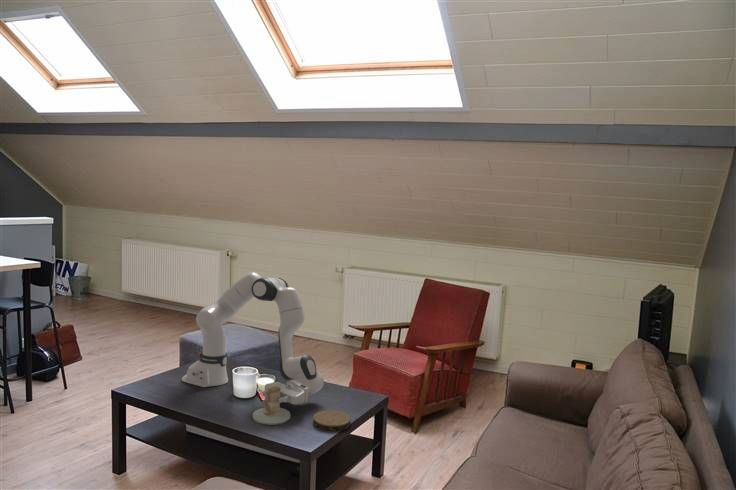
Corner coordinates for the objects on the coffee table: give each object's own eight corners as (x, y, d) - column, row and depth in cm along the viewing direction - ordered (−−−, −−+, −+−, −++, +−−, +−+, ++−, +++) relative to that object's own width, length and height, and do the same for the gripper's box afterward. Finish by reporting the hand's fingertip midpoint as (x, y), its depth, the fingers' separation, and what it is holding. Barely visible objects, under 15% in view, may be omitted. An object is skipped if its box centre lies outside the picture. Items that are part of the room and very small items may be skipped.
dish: (246, 421, 250) (246, 418, 250) (262, 407, 266) (262, 404, 266) (281, 427, 246) (281, 424, 246) (295, 413, 262) (296, 410, 262)
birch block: (263, 414, 256) (265, 387, 254) (272, 411, 259) (273, 384, 258) (271, 417, 253) (272, 390, 251) (279, 414, 256) (280, 387, 255)
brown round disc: (345, 434, 244) (346, 427, 244) (308, 429, 247) (308, 422, 246) (353, 419, 260) (354, 412, 259) (318, 414, 262) (318, 408, 262)
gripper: (278, 376, 271) (255, 383, 260) (310, 389, 258) (287, 397, 248) (278, 390, 272) (254, 397, 261) (310, 402, 259) (286, 411, 248)
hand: (270, 397), depth 254 cm, fingers open, 8 cm apart
